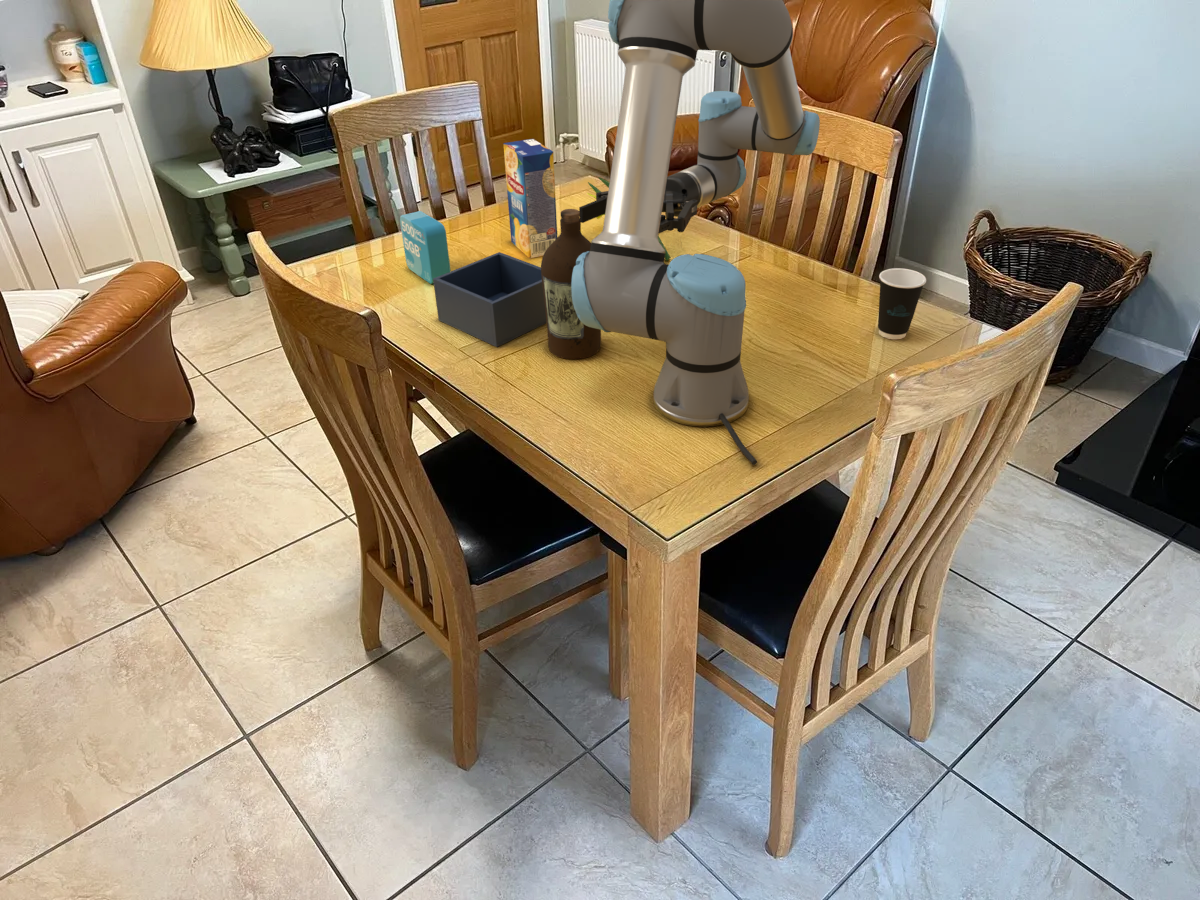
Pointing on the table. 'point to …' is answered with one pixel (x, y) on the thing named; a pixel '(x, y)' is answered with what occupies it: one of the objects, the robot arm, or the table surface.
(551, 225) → the cracker box
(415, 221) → the data package
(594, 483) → the table surface
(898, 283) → the dixie cup
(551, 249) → the brown bottle
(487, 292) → the blue-grey hollow square box
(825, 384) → the table surface
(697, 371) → the robot arm
